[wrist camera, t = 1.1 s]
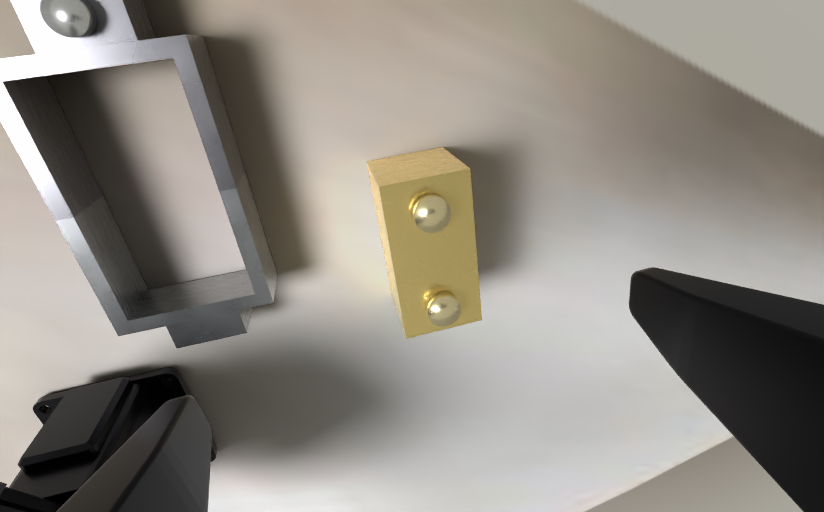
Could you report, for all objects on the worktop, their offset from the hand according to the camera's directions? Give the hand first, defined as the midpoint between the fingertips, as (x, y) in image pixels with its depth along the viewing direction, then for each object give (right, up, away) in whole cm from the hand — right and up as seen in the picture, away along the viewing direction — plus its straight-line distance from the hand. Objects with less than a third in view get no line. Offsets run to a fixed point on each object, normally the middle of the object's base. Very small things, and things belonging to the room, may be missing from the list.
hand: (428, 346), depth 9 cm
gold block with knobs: (0, +3, +12) cm, 13 cm away
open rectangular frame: (-10, +5, +9) cm, 15 cm away
